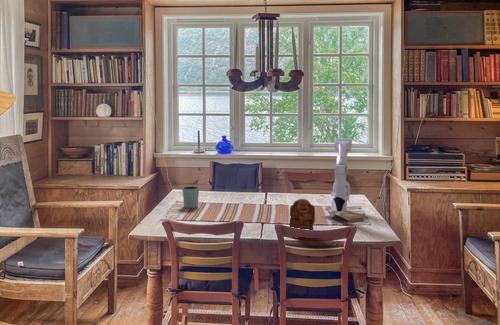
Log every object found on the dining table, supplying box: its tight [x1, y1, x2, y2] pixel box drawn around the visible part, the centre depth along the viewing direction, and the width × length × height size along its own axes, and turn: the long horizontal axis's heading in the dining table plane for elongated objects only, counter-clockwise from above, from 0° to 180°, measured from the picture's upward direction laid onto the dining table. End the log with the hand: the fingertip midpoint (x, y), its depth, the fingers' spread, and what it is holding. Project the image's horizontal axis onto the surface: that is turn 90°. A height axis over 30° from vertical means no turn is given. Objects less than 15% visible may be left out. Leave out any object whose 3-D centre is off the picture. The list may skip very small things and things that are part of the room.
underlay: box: [321, 214, 365, 224], centre depth 253 cm, size 16×18×1 cm
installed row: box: [340, 210, 364, 222], centre depth 255 cm, size 15×8×2 cm, turn 22°
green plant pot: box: [181, 185, 200, 209], centre depth 277 cm, size 10×10×12 cm
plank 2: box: [331, 210, 351, 221], centre depth 248 cm, size 7×8×2 cm
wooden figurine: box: [288, 198, 316, 231], centre depth 220 cm, size 12×6×18 cm, turn 103°
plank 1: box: [324, 206, 339, 217], centre depth 255 cm, size 7×8×2 cm
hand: (339, 211), depth 247 cm, fingers closed
